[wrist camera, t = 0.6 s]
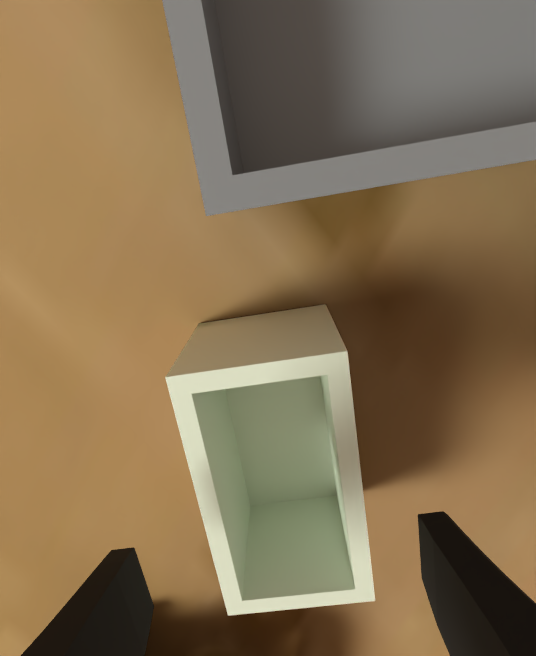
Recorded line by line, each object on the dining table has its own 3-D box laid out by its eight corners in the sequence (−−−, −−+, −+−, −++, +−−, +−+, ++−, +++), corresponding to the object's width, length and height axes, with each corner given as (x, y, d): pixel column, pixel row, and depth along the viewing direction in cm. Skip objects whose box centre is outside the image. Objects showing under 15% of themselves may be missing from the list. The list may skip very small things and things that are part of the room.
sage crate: (325, 304, 15) (347, 350, 11) (349, 495, 18) (375, 601, 13) (199, 323, 16) (165, 377, 11) (240, 508, 18) (227, 615, 14)
